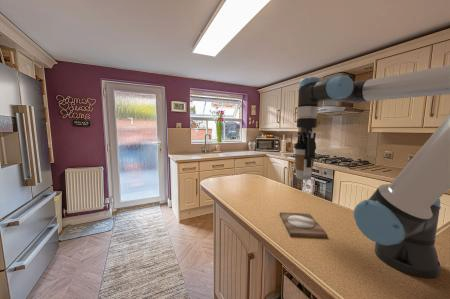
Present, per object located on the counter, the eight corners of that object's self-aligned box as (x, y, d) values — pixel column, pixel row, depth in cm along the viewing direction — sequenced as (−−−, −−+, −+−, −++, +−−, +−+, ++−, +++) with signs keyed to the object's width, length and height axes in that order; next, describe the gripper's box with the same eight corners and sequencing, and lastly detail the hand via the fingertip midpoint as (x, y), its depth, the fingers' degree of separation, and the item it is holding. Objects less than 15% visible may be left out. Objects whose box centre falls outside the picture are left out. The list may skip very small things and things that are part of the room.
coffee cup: (316, 181, 75) (319, 143, 74) (294, 179, 77) (296, 142, 75) (311, 176, 84) (313, 142, 82) (291, 174, 85) (293, 141, 84)
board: (327, 237, 73) (327, 233, 73) (289, 236, 74) (290, 231, 74) (309, 216, 91) (309, 212, 91) (279, 215, 92) (279, 211, 91)
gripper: (328, 116, 67) (323, 179, 70) (307, 119, 88) (304, 168, 90) (306, 116, 68) (302, 178, 70) (290, 119, 88) (287, 167, 90)
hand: (303, 172), depth 80 cm, fingers closed on coffee cup, 8 cm apart
